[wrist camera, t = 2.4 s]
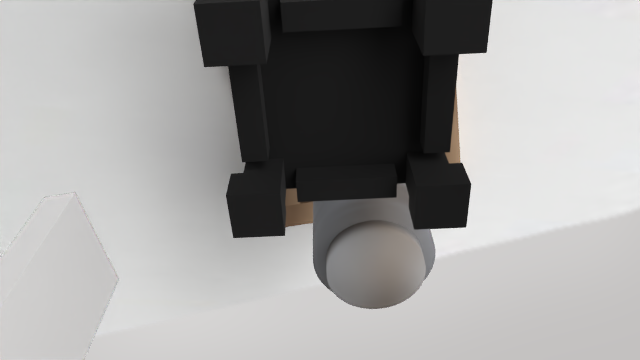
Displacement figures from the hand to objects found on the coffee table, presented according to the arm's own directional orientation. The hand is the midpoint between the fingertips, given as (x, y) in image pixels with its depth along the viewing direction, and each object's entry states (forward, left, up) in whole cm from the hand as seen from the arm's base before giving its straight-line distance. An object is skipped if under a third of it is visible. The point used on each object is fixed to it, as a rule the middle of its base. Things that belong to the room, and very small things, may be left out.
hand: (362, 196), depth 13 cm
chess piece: (0, 0, -23) cm, 23 cm away
